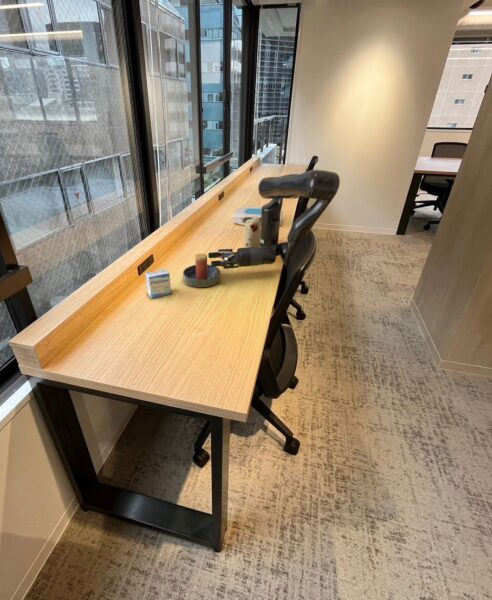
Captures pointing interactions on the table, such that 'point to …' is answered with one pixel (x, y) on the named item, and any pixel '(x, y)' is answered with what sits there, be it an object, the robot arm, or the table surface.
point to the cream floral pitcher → (252, 233)
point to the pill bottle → (201, 266)
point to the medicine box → (158, 283)
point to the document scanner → (249, 214)
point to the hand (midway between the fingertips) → (209, 259)
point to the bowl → (191, 280)
